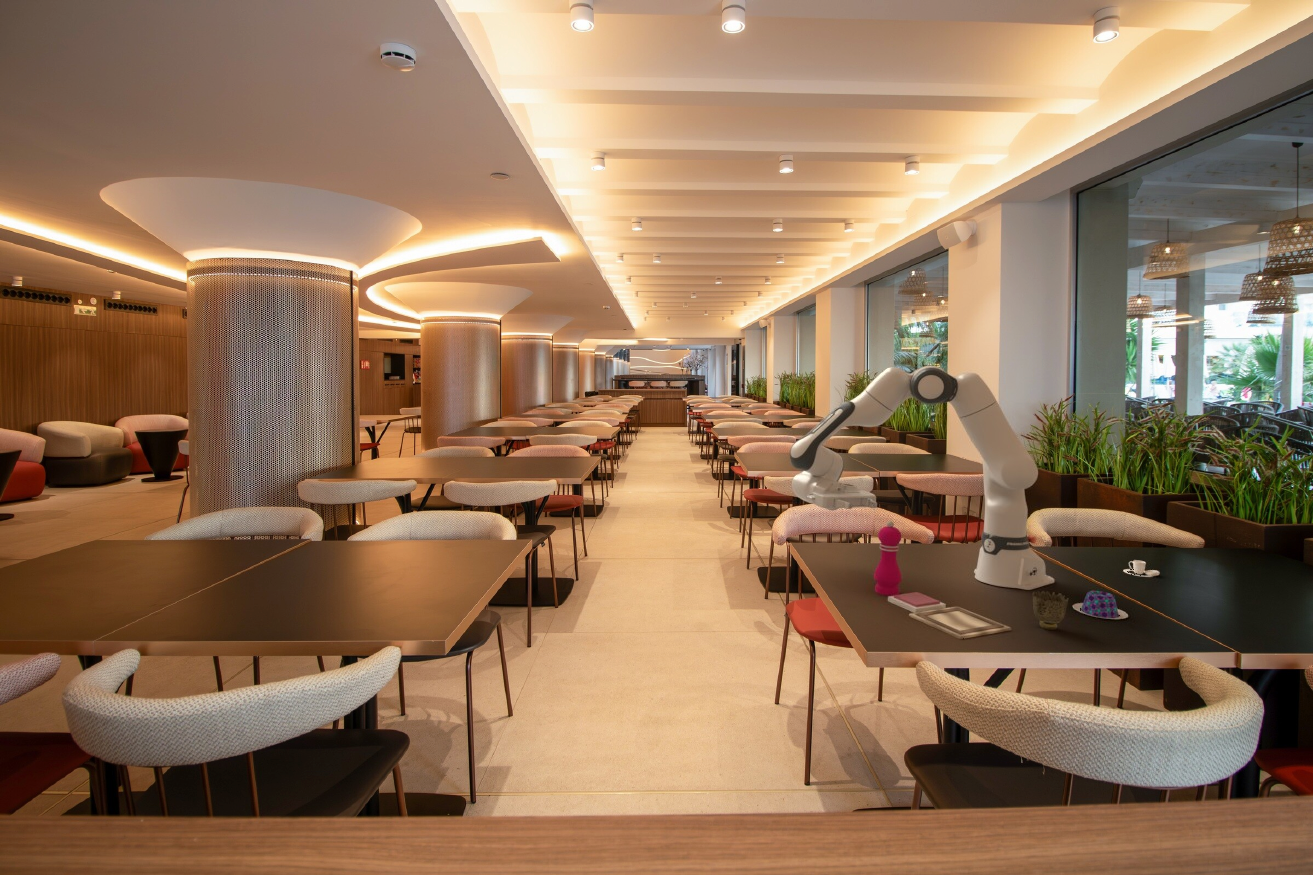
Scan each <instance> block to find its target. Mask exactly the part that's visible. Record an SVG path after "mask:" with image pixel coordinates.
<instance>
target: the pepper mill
mask: <svg viewBox="0 0 1313 875" xmlns="http://www.w3.org/2000/svg"><path fill="white" fill-rule="evenodd" d="M877 538H878V540H879V542H880V543H879V549H880V561H879V562H878V564H877V566H876V568H875V569H874V574H873V578H874V580H875V581H876V583H875V585H874V586H875V588H874V591H875V593H877V594H879V595H882V596H885V597H886V596H887V597H890V596H894V595H899V594H900V586H899V584H901V582H902V578H903V577H902V572H901V570H900V567H899V565H898V560H897V553H898V551H900V549H899V548H900V545H899V543H900V542H901V540H902V533H901V531H900V530H899V529H898V527H895V526H894V522H893V521H891V520H889V521H887V523H886V526H884V527H881V528H880V530H879V531H878V536H877Z"/></svg>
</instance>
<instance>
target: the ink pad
mask: <svg viewBox="0 0 1313 875" xmlns="http://www.w3.org/2000/svg"><path fill="white" fill-rule="evenodd" d="M887 602H889V603H891V604H893V605H896V606H897V607H900V608H903V609H905V610H907V611H908V612H911V613H918V612H924V611H931V610H937V609H944V608H947V607H946V605H947V604H946V603H944V602H941V601H940V600H938V599H936V598H933V597H931V596H928V595H926V594H923V593H921V592H918V591H914V592H909V593H901V594H900V593H899V594H898V595H894V596H887Z"/></svg>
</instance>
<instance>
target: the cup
mask: <svg viewBox="0 0 1313 875" xmlns="http://www.w3.org/2000/svg"><path fill="white" fill-rule="evenodd" d="M1031 595H1032V604H1033V605H1032V606H1033V608H1032V609H1033V613H1034V616H1035V617H1036V619H1038V620H1039V626H1040V627H1041V628H1042V629H1045V630H1052V631H1054V630H1056V629H1057V627H1058V624H1059V623H1061V622H1062V621H1063V620H1064V618H1065V616H1066V611H1067V608H1068V604H1069V603H1068V602H1069V598H1068V597H1067V598H1066V596H1065V595H1063V594H1062V593H1057V594H1056V593H1055V591H1054V592H1052V593H1050V592H1049V591H1047V590H1046V592H1045V591H1044V590H1043V591H1041V592H1040V591H1039V590H1038V591H1037V592H1036V591H1033V592H1032V594H1031Z"/></svg>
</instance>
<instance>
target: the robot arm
mask: <svg viewBox="0 0 1313 875" xmlns="http://www.w3.org/2000/svg"><path fill="white" fill-rule="evenodd" d="M913 398H914V399H915V400H917V401H918V402H919V403H922V404H924V405H937V404H938V405H939V404H943V403H949V404H950V405H951V406H952V408H953V410H954V411H955V413H956V415H957V417H958V418H959V421H960V422H961V424H962V426H963V429H964V430H965V432H966V434H967V436H968V437H969V439H970V441H971V442H972V444H973V446H974V447H975V448H976V450H977V451H978V453H979V455H980V456H981V457H982V469H983V470H982V471H983V475H982V476H983V477H982V478H983V492H984V506H985V507H984V520H983V521H984V522H983V523H984V524H983V530H982V532H981V539H980V540H981V544H982V545H981V547H980V548H979V553H978V559H977V565H976V568H975V569H974V571H973V573H974V574H975V575H974V578H975V579H976V580H977V581H979V582H982V583H985V584H989V585H992V586H996V587H1003V588H1012V589H1020V590H1027V591H1030V590H1035V589H1037V588H1040V587H1043V586H1048V585H1051V584H1054V583H1055V578H1053V577H1052V576H1050V575H1047V574H1046V564H1045V561H1044V559H1042V558H1041V557H1040V556H1039V555H1038V554H1037V553H1036V552H1035V551H1034V550H1032V548H1030V546H1031V545H1030V543H1031V544H1036V542H1037V536H1032V535H1028V536H1027V526H1028V524H1027V523H1028V512H1029V511H1028V505H1027V501H1026V495H1025V494H1026V493H1025V490H1026V489H1029V488H1031V486H1033V485H1034V484H1035V483H1036V481H1037V480H1038V476H1039V469H1038V466H1037V464H1036V463H1035V461H1034V460H1033V458H1032V457H1031V455H1030V453H1029V452H1028V450H1027V447H1026V446H1025V445H1024V444H1023V442H1022V441H1021V439H1020V438H1019V437H1018V435H1017V433H1016V432H1015V431H1014V429H1013V428H1012V426H1011V425H1010V423H1009V421H1008V420H1007V418H1006V416H1005V413H1004V412H1003V410H1002V408H1001V406H1000V405H999V403H998V401H997V399H996V397H995V395H994V393H993V392H992V391H991V389H990V388H989V386H988V385H987V383H986V382H985V381H984V379H983V378H982V377H981V376H980V375H979V374H977V373H975V372H964V373H961V374H959V375H956V376H955V375H954V376H952V375H950V374H949V373H948V372H946V371H945V369H943V368H942V367H939V366H937V365H925V366H921V367H920V368H916V369H914V370H912V371H909V372H906V371H905V370H904V369H902V368H901V367H896V366H895V367H894V366H891V367H887V368H886V369H884V370H883V371H881V372H880V373H879V374H878V375H877V376H875V378H874V379H872V381H870V383H869V384H868V385H867V386H866V387H865V388H864V389H863V391H862V392H861V393H860V394H859V395H858V396H856V397H854V398H852V399H851V400H847V401H843V402H841V403H840V404H838V406H836V407H835V408H834V409H833V410H831V412H829V413H828V414H827V415H826V416H825V417H824V418H822V420H821V421H820V422H818V424H816V425H815V426H814V427H813V428H811V430H810V431H809V432H807V433H806V434H805V435H803V436H802V437H801V438H799V439H797V440H796V441H795V442H793V443H792V446H791V447H790V450H789V458H790V459H789V460H790V464H791V465H792V466H793V468H795V469H797V470H800V471H801V472H799V473H797V474H795V475H794V476H793V478H792V481H791V489H792V492H793V494H794V495H795V496H796V497H798V498H799V499H800V500H802V501H804V502H806V503H809V504H813V505H815V506H817V507H818V508H820V509H821V508H822V509H824V510H828V511H837V510H838V509H846V510H851V509H852V508H854V509H855V508H856V509H857V508H858V509H859V508H870V509H877V508H878V502H877V496H876V495H875V494H874V493H872V492H869V491H867V490H865V489H862V488H857V487H858V486H856V485H854V484H849V483H842V482H839V481H840V479H841V478H842V475H843V471H844V467H845V462H844V459H843V457H842V456H841V455H840V454H839V453H838V452H835V451H833V450H832V449H830V448H827V447H826V446H824V445H825V444H826V442H828V440H830V439H831V438H832V437H833V436H834V435H835V434H836V433H838V432H839V431H840V430H842V429H843V428H846V427H853V426H855V427H859V426H860V427H865V428H873V427H878V426H881V425H883V424H884V423H885V422H886V421H888V420H889V419H890V418H891V416H892V415H893V414H894V413H895V412H896V410H898V408H899V407H900V406H901V405H902V404H903V403H904V402H905V401H906V400H908V399H913Z"/></svg>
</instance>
